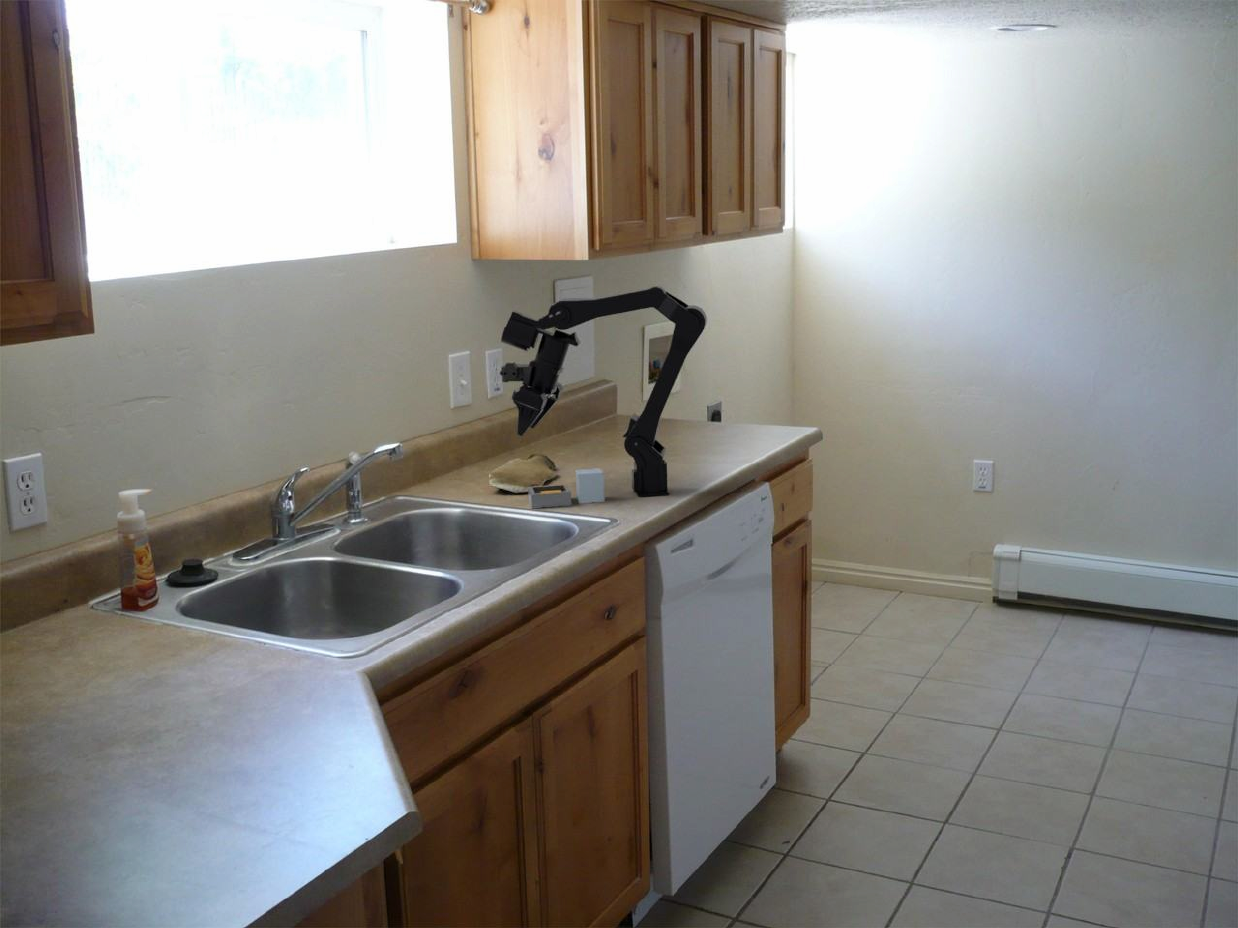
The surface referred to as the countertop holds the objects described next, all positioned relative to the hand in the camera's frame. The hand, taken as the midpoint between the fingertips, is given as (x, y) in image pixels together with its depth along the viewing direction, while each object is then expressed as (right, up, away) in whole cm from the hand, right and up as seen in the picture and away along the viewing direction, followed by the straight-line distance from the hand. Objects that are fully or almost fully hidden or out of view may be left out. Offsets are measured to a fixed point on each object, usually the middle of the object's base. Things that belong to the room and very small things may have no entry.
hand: (525, 431), depth 248 cm
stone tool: (-1, -11, +14) cm, 17 cm away
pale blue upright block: (+13, -14, -4) cm, 20 cm away
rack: (+5, -14, -6) cm, 16 cm away
